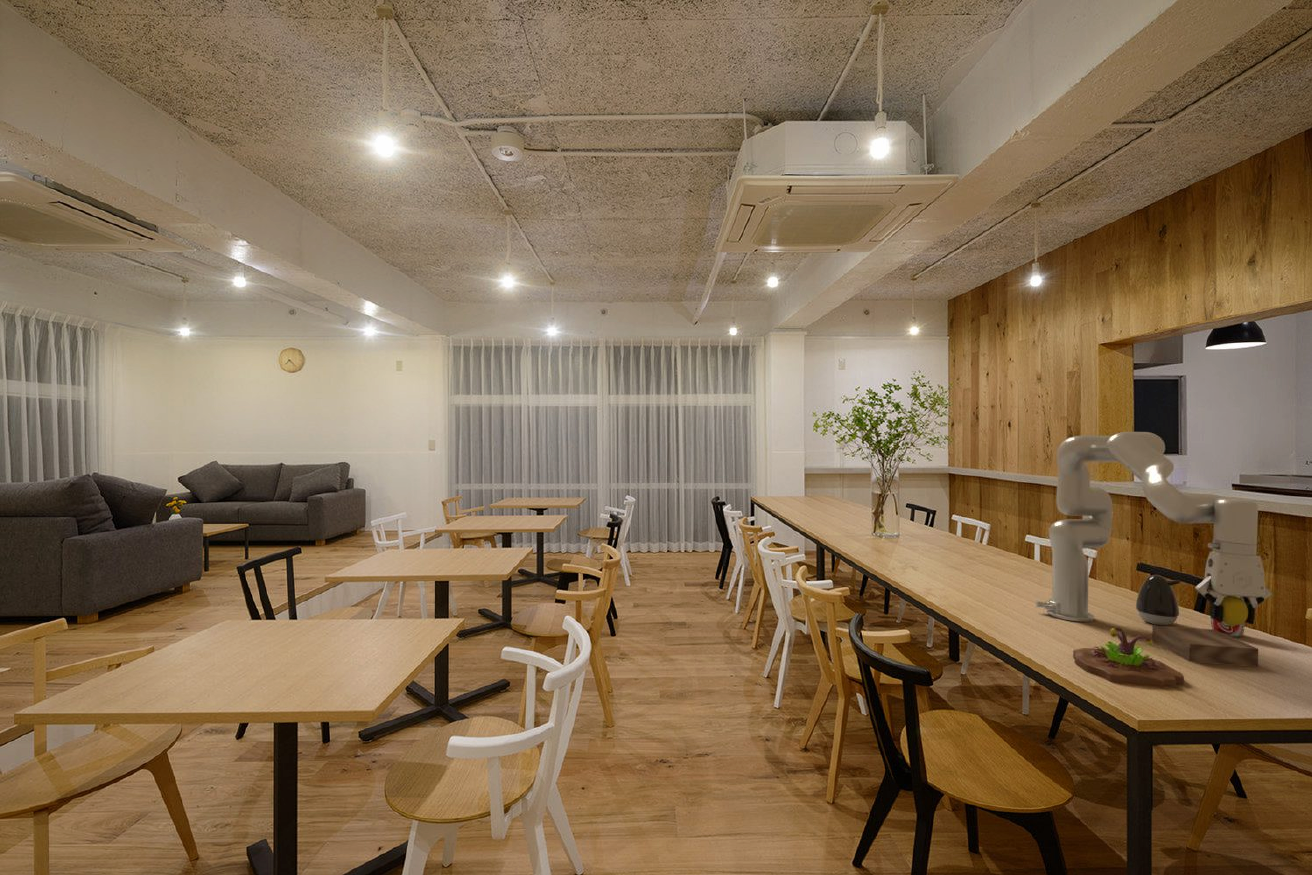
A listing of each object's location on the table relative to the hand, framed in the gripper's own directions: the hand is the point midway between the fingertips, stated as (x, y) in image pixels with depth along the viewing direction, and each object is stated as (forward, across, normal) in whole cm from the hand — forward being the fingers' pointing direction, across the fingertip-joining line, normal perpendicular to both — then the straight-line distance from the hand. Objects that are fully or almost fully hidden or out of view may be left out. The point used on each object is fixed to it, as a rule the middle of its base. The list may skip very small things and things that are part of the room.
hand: (1231, 620), depth 140 cm
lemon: (+2, 0, 0) cm, 2 cm away
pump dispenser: (+14, +7, +41) cm, 44 cm away
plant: (+14, -25, -4) cm, 29 cm away
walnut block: (+14, +3, +14) cm, 20 cm away
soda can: (+14, +21, +34) cm, 43 cm away
